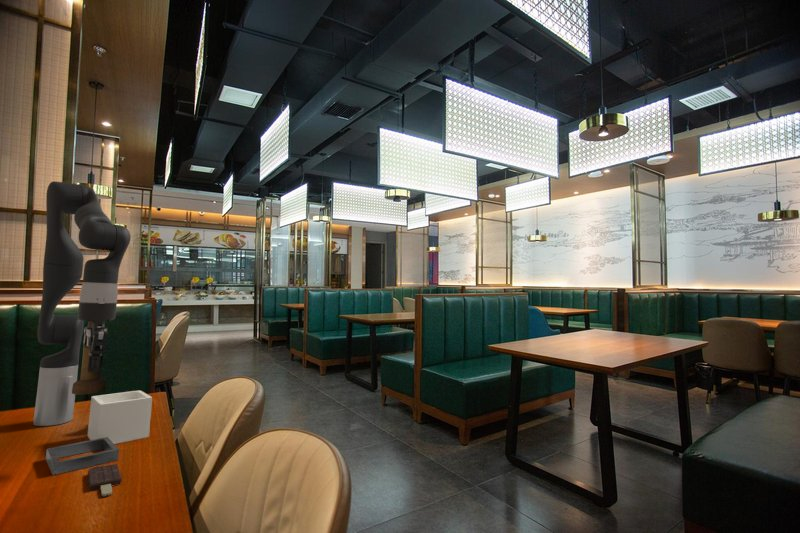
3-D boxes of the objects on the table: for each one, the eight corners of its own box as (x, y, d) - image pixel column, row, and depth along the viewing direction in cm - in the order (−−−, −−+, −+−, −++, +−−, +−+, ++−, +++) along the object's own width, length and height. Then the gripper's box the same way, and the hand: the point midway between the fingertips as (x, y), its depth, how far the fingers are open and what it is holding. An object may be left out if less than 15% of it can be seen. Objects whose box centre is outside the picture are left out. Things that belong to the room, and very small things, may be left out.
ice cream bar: (122, 495, 79) (116, 469, 90) (123, 486, 79) (117, 462, 90) (90, 503, 75) (87, 475, 87) (90, 494, 75) (88, 467, 87)
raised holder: (87, 436, 109) (91, 396, 111) (136, 426, 118) (140, 390, 119) (96, 447, 101) (100, 404, 102) (148, 436, 110) (152, 397, 111)
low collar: (45, 459, 93) (46, 448, 94) (106, 446, 102) (107, 437, 102) (52, 475, 85) (53, 463, 86) (117, 460, 94) (118, 449, 94)
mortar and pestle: (65, 395, 91) (74, 318, 93) (80, 389, 98) (87, 317, 99) (98, 394, 93) (106, 319, 95) (110, 388, 99) (117, 318, 101)
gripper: (74, 300, 99) (67, 367, 98) (85, 301, 90) (77, 376, 88) (110, 300, 105) (103, 364, 103) (123, 302, 95) (116, 372, 94)
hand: (91, 369), depth 96 cm, fingers closed on mortar and pestle, 4 cm apart
